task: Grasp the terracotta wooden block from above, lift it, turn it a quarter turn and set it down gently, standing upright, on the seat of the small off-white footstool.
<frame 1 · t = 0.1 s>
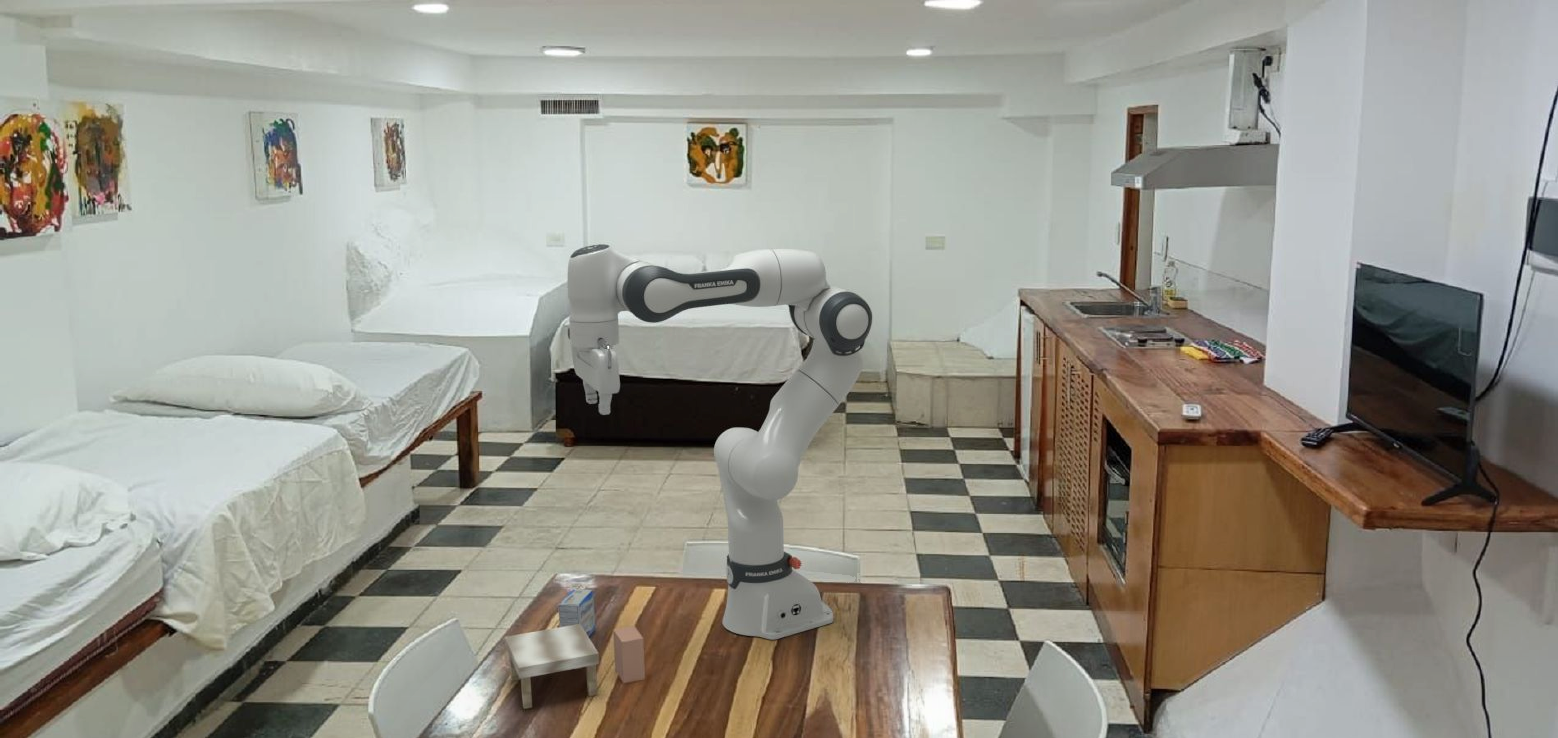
hand: (598, 408, 224), 48 cm above the table, tool pointing down, fingers open, 8 cm apart
footstool: (553, 686, 219), on the table
medicine box: (578, 638, 240), on the table
block: (629, 674, 224), on the table
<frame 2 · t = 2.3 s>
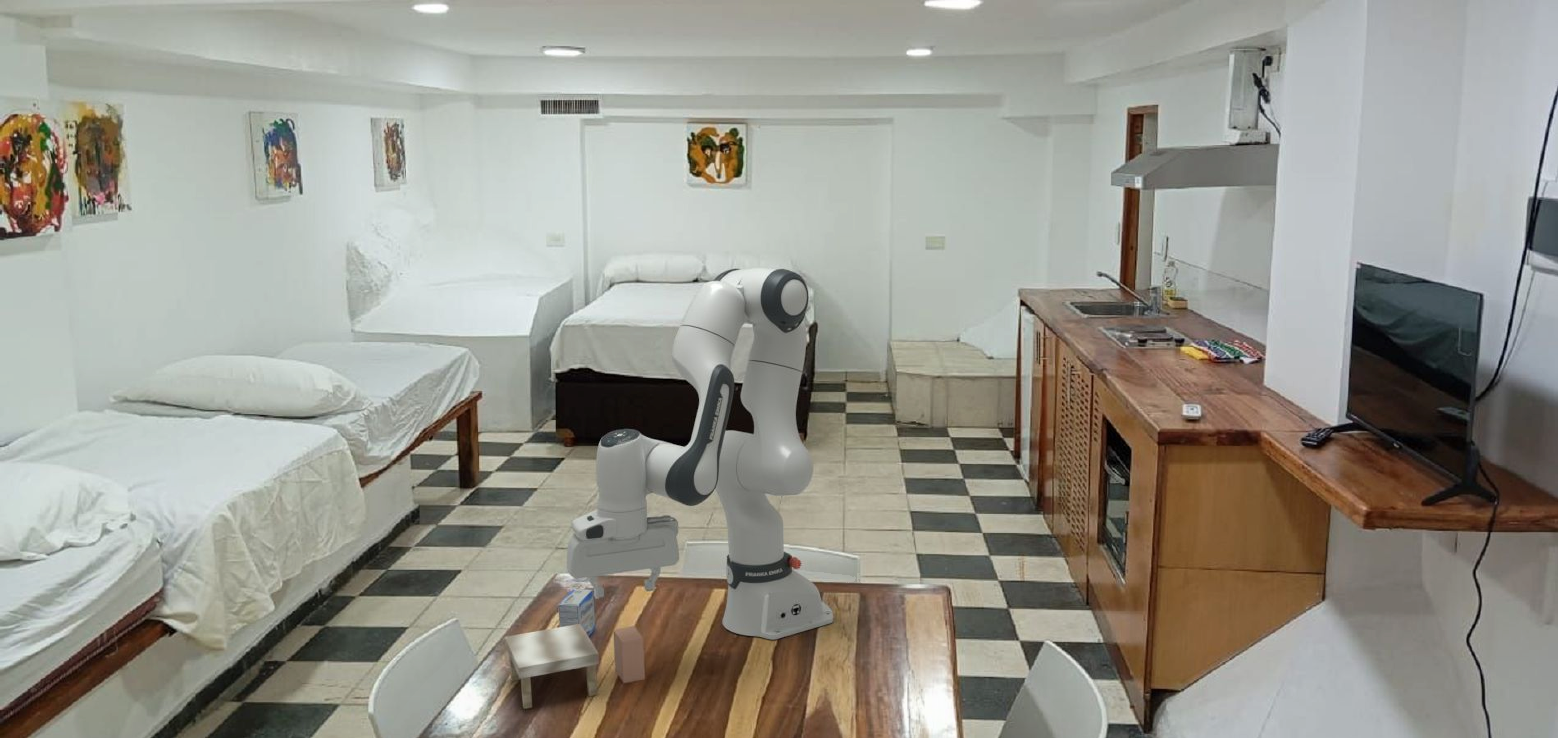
hand: (624, 593, 220), 16 cm above the table, tool pointing down, fingers open, 8 cm apart
nothing on the table moved.
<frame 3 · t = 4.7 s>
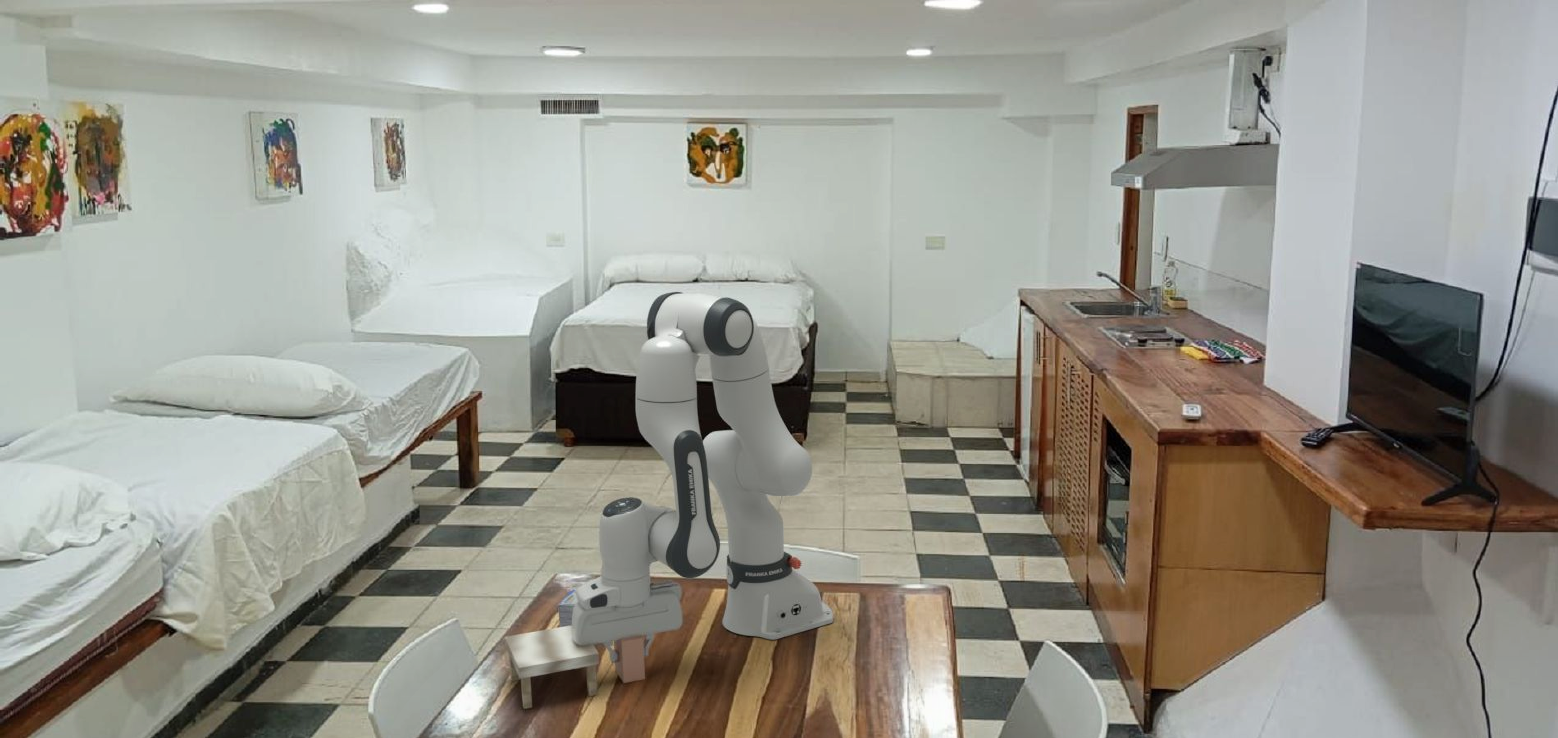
hand: (629, 658, 223), 3 cm above the table, tool pointing down, fingers closed on block, 4 cm apart
block: (630, 674, 224), on the table, touching gripper
everything else where it was.
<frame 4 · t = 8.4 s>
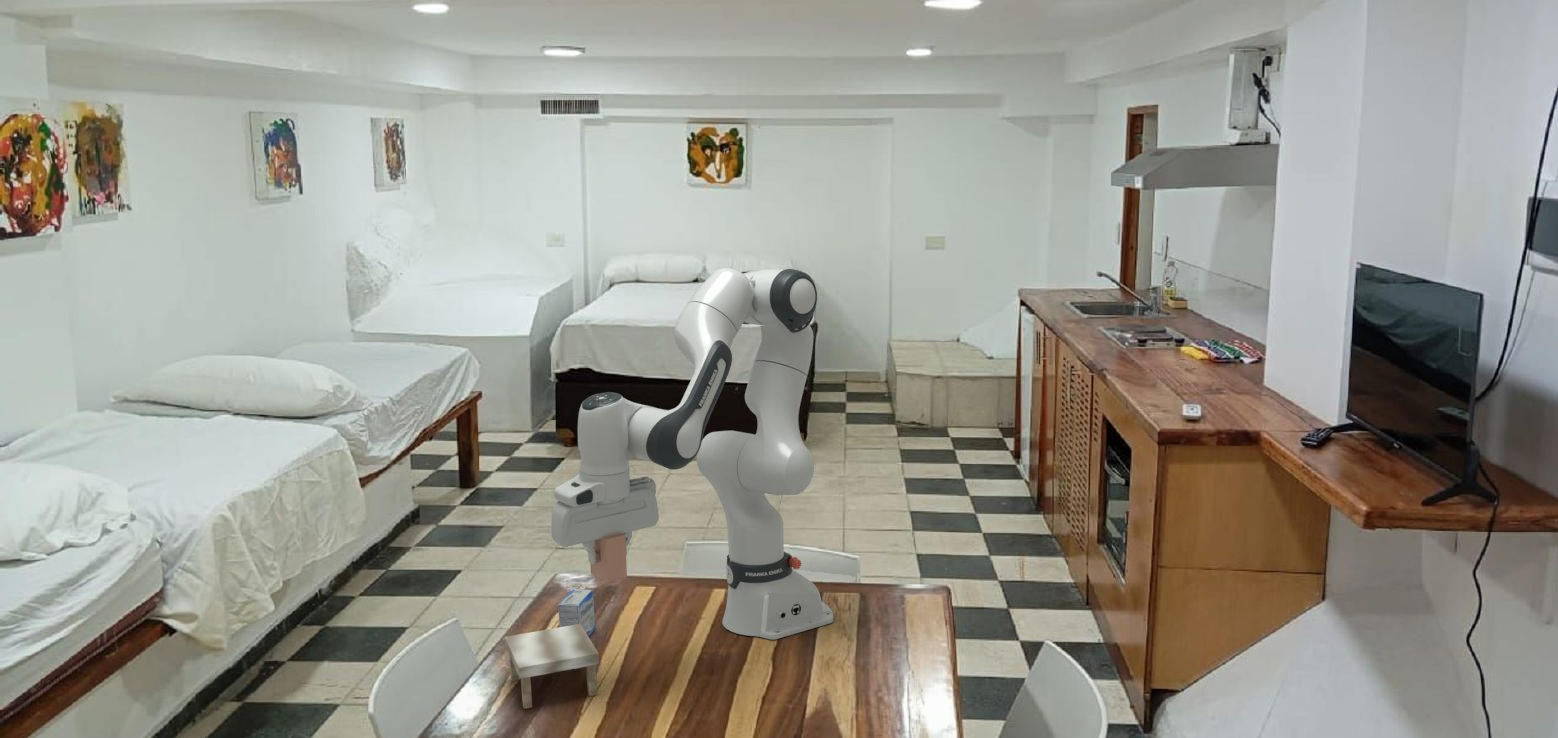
hand: (607, 558, 218), 23 cm above the table, tool pointing down, fingers closed on block, 4 cm apart
block: (608, 575, 219), point 20 cm above the table, touching gripper
everything else where it was.
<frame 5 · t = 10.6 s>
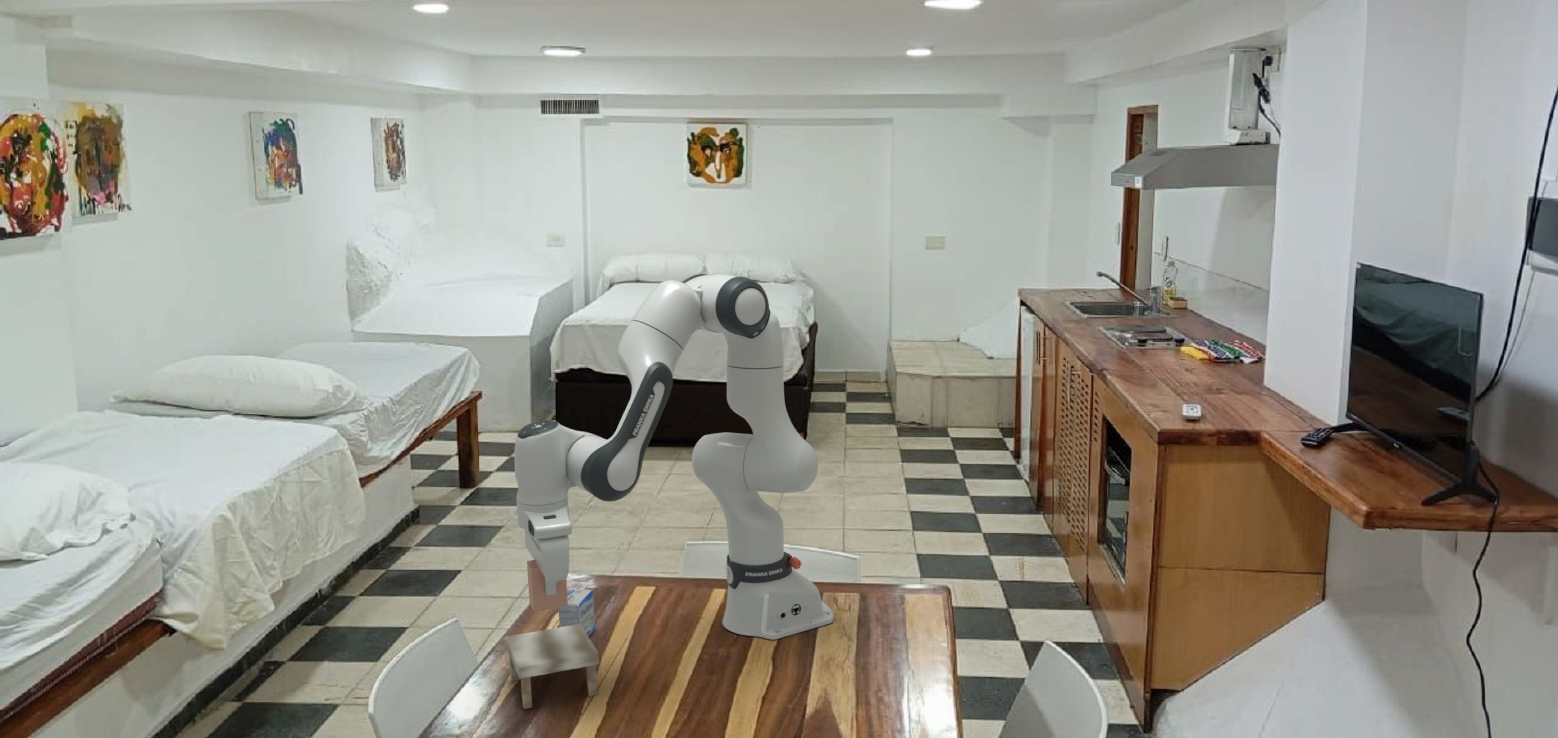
hand: (547, 588, 215), 19 cm above the table, tool pointing down, fingers closed on block, 4 cm apart
block: (548, 604, 216), point 16 cm above the table, touching gripper
everything else where it was.
when the fingers open (12 cm above the table, at t = 12.4 s): block stays where it is, resting on footstool.
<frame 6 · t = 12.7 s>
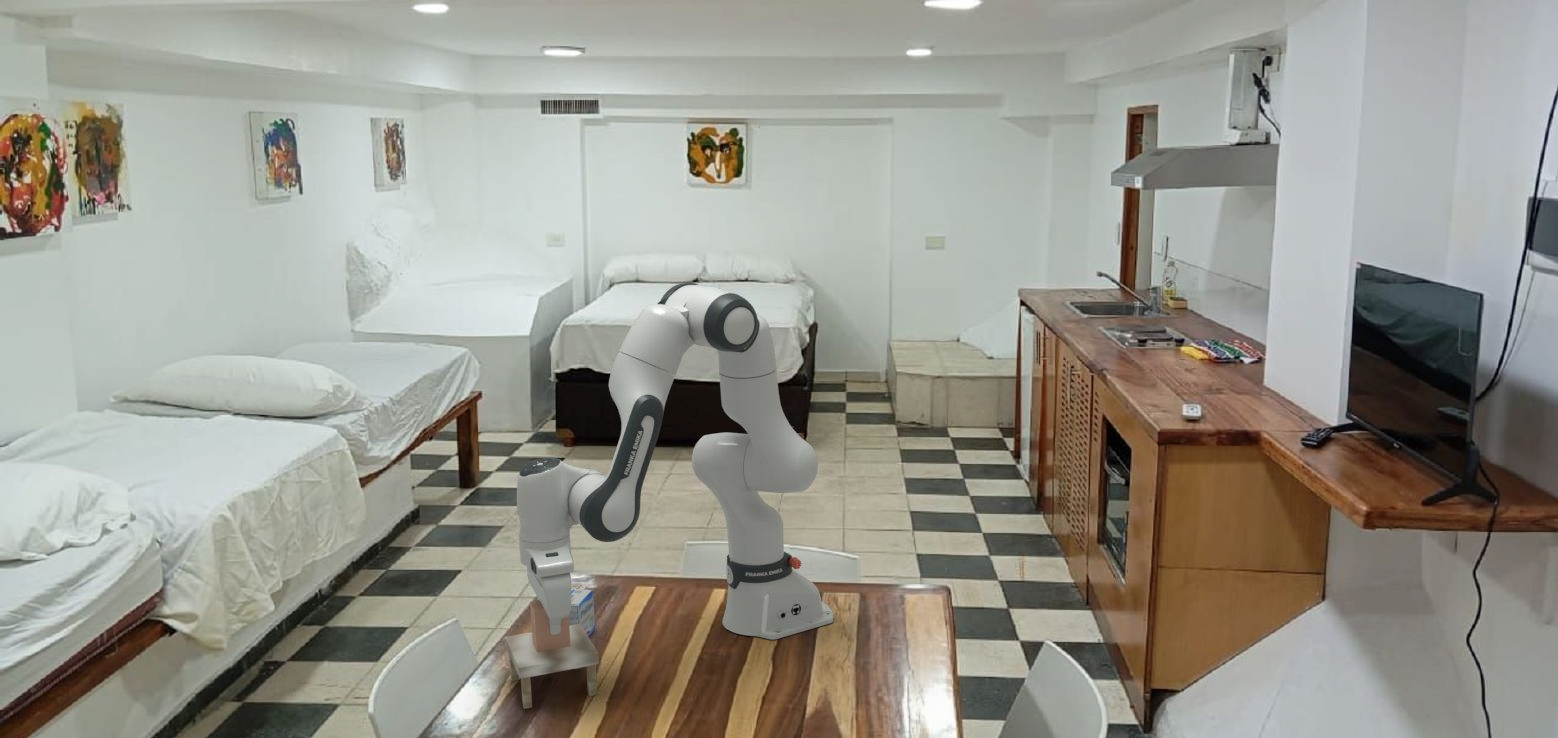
hand: (549, 623, 217), 12 cm above the table, tool pointing down, fingers open, 7 cm apart
block: (551, 644, 218), point 8 cm above the table, touching footstool
everything else where it was.
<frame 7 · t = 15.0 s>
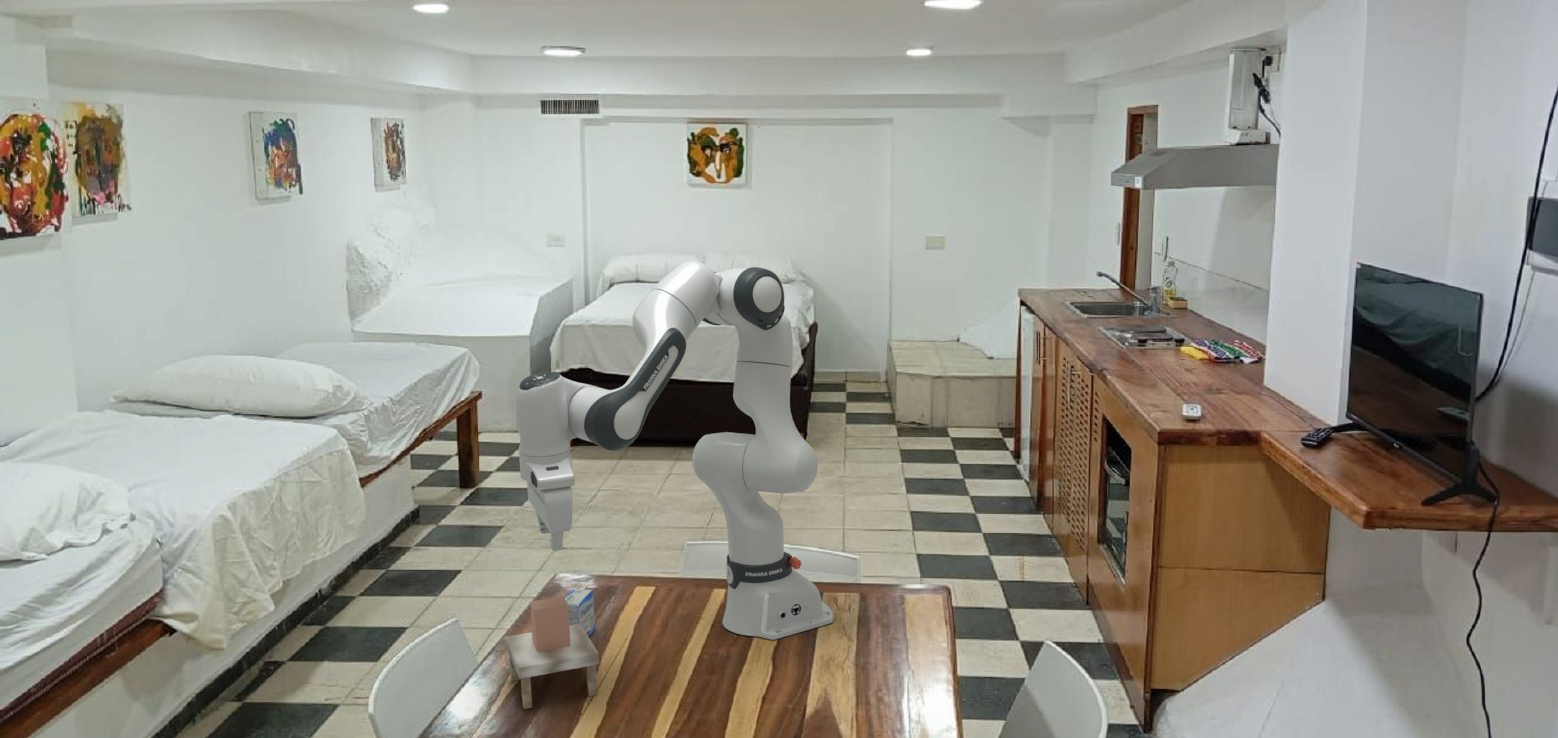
hand: (550, 540, 215), 27 cm above the table, tool pointing down, fingers open, 8 cm apart
nothing on the table moved.
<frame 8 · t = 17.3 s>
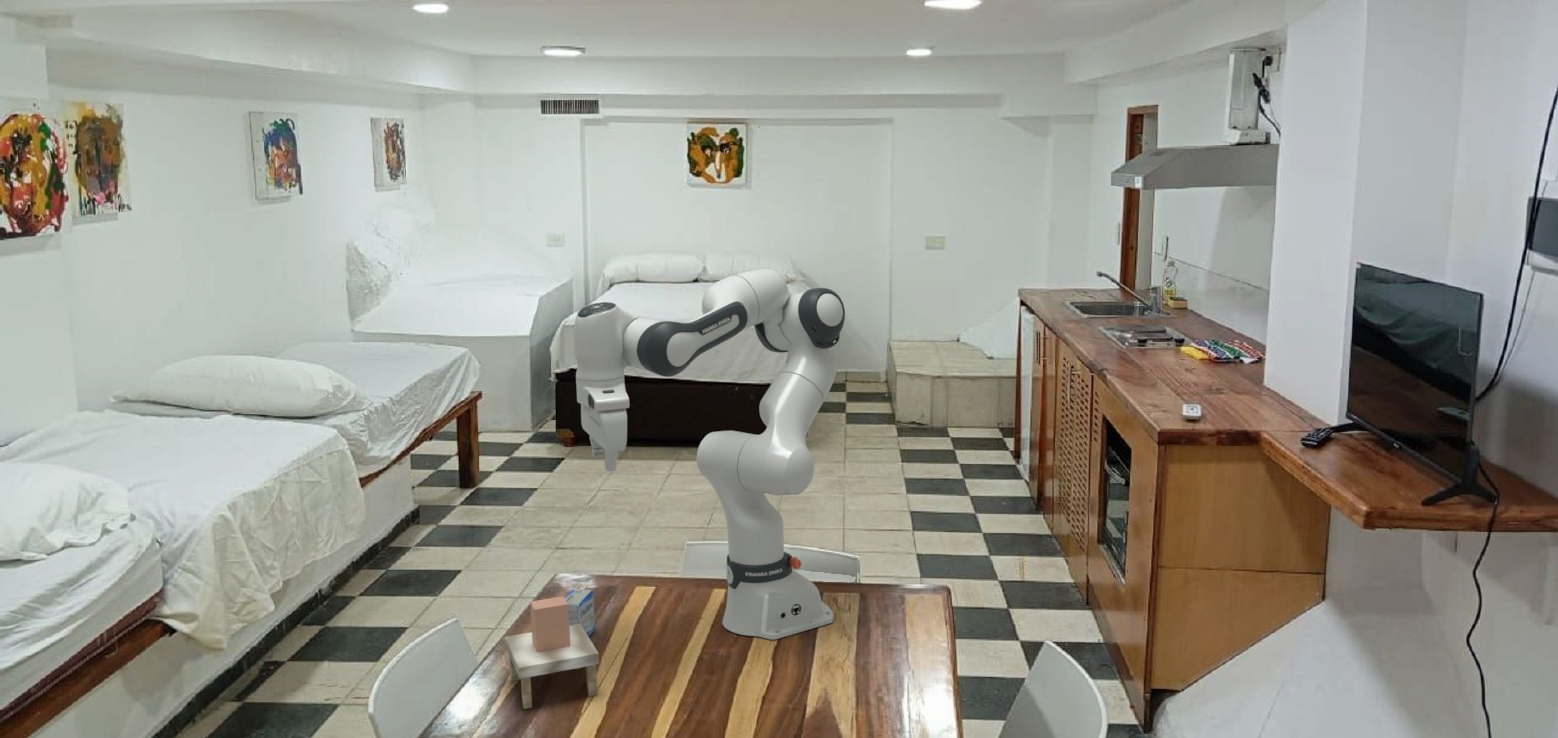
hand: (604, 463, 227), 37 cm above the table, tool pointing down, fingers open, 8 cm apart
nothing on the table moved.
at the end: block inside the target area on the footstool (0.1 cm from its centre), point 8.0 cm above the footstool's base; block tilted 0°; the gripper is holding nothing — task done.
